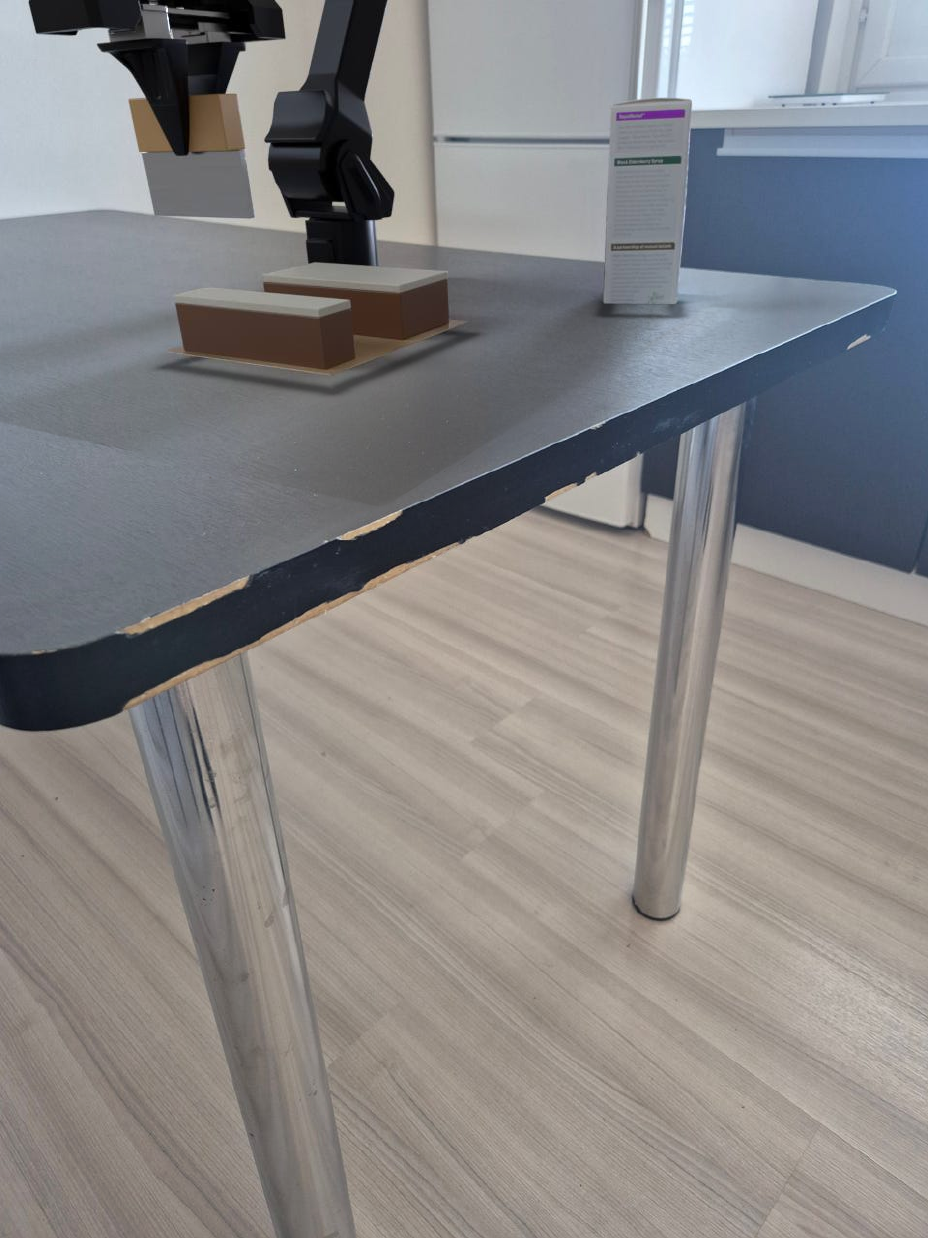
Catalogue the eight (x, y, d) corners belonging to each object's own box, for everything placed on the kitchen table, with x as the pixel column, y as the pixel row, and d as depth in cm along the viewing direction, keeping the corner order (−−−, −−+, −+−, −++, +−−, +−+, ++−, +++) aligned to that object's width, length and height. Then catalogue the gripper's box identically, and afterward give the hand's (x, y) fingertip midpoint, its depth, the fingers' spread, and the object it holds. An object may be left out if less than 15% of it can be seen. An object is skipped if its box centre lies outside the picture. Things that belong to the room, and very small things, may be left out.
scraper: (147, 216, 67) (122, 98, 63) (166, 213, 69) (143, 98, 64) (243, 219, 63) (223, 93, 59) (261, 216, 64) (242, 92, 60)
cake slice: (216, 340, 58) (207, 286, 56) (355, 358, 53) (350, 299, 51) (183, 350, 56) (172, 294, 54) (325, 369, 51) (318, 308, 49)
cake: (320, 309, 66) (314, 262, 65) (449, 322, 61) (447, 270, 59) (268, 325, 62) (261, 274, 60) (403, 340, 57) (399, 285, 55)
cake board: (319, 319, 68) (318, 306, 68) (469, 335, 62) (468, 320, 61) (168, 366, 56) (164, 351, 56) (333, 391, 50) (331, 374, 50)
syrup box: (676, 316, 65) (698, 95, 58) (599, 316, 66) (610, 99, 59) (676, 302, 70) (695, 96, 62) (604, 301, 71) (614, 99, 64)
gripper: (163, -81, 66) (202, 148, 74) (-63, -124, 52) (15, 163, 60) (274, -100, 61) (303, 147, 69) (57, -154, 47) (125, 163, 55)
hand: (193, 154), depth 63 cm, fingers closed on scraper, 2 cm apart
